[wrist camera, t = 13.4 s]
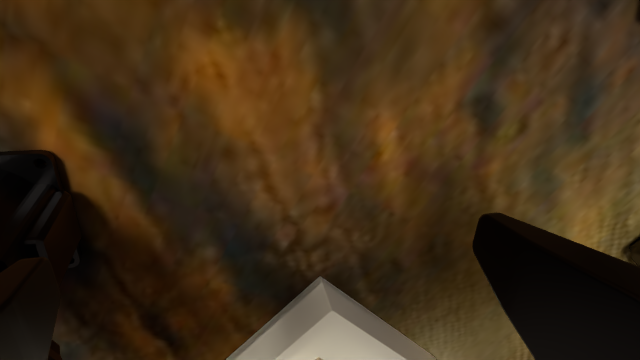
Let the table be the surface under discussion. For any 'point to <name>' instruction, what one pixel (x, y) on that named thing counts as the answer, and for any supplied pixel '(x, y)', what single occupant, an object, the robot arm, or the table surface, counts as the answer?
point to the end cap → (635, 252)
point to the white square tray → (328, 331)
